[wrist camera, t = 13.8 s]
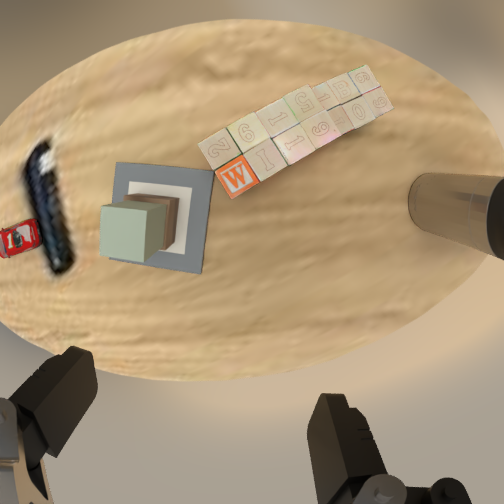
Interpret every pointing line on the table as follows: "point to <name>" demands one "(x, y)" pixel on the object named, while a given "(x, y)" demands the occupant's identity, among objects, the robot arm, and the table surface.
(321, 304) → the table surface
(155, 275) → the table surface
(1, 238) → the race car
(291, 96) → the stack of blocks
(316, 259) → the table surface
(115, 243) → the sage block
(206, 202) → the board
